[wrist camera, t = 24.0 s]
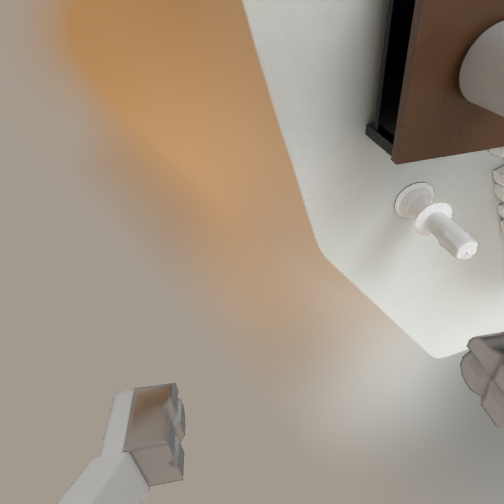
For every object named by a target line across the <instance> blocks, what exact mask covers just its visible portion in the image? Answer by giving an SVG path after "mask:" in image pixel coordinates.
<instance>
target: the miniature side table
mask: <svg viewBox="0 0 504 504" xmlns="http://www.w3.org/2000/svg"><path fill="white" fill-rule="evenodd" d="M501 21H504V0H389V6H388V14H387V23H386V31H385V40H384V49H383V57H382V66H381V74H380V83H379V91H378V100H377V109H376V117H375V123H369V124H366V133H365V134H366V135H367V136H368V137H369V138H371V139H372V140H373V141H374V142H375V143H376V144H378V145H379V146H380V147H381V148H382V149H383V150H385V151H386V152H387V153H388V154H389V155H391V160H392V161H393V162H394V163H395V164H402V163H408V162H415V161H421V160H427V159H433V158H439V157H445V156H451V155H457V154H463V153H469V152H475V151H481V150H487V149H493V148H499V147H504V117H503V116H501V115H498V114H496V113H494V112H492V111H489V110H487V109H485V108H483V107H480V106H478V105H476V104H473V103H471V102H469V101H468V100H467V99H466V98H465V97H464V96H463V94H462V92H461V90H460V85H459V75H460V69H461V66H462V63H463V60H464V58H465V56H466V54H467V52H468V51H469V49H470V48H471V46H472V45H473V43H474V42H475V41H476V40H477V39H478V38H479V36H480V35H482V34H483V33H484V32H485V31H486V30H487V29H489V28H490V27H492V26H493V25H495V24H497V23H499V22H501Z"/></svg>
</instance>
